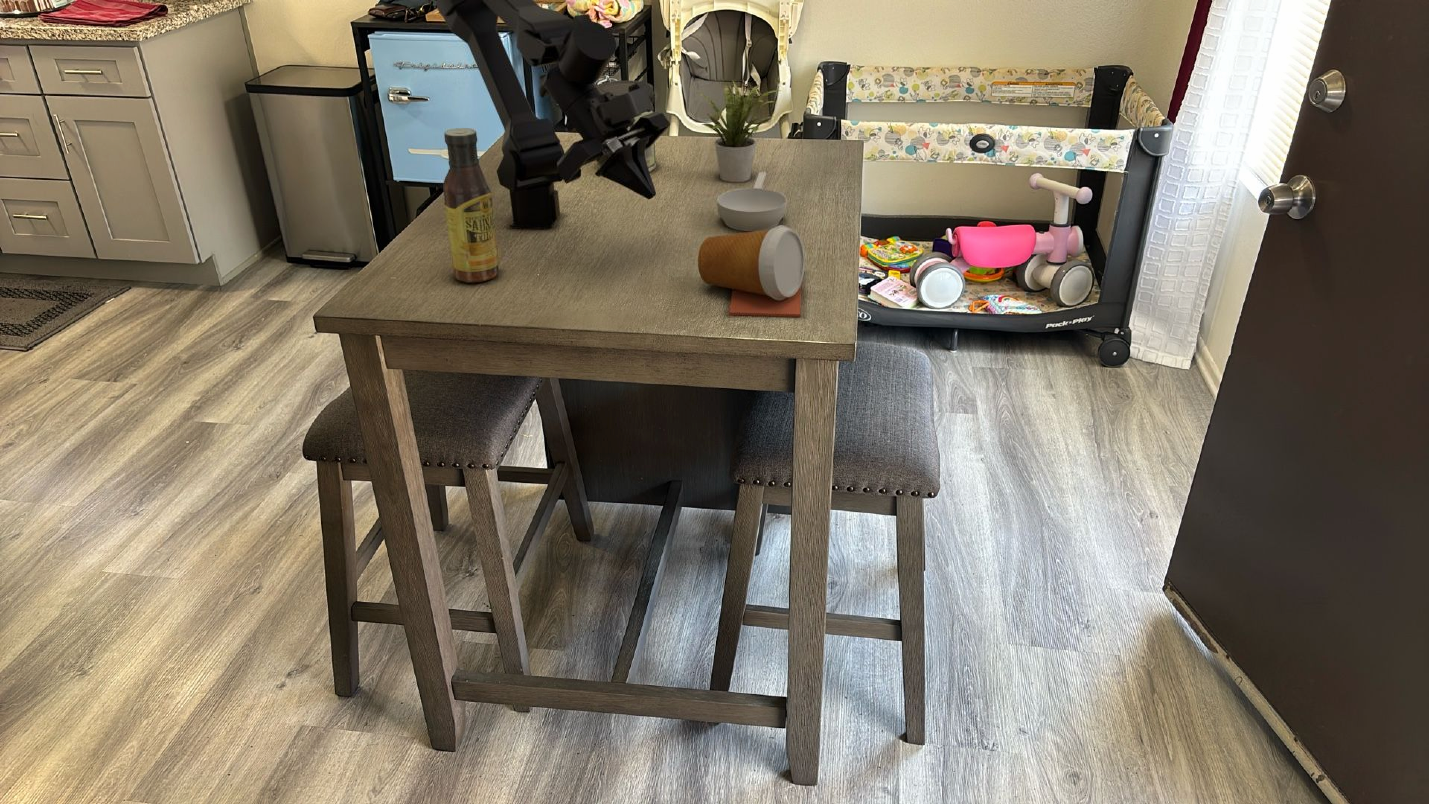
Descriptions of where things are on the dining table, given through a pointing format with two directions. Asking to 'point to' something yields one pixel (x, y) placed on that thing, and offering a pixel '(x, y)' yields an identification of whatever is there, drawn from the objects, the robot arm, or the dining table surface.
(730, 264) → the disposable coffee cup
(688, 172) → the dining table surface
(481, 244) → the sauce bottle
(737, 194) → the saucepan
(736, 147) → the house plant
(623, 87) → the coffee can
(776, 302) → the mat
